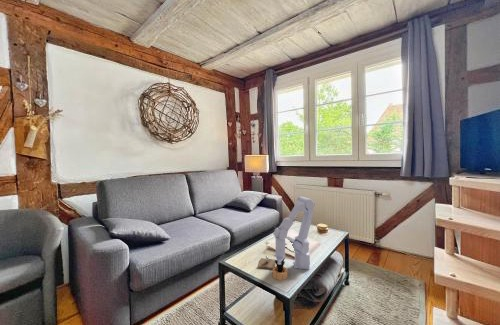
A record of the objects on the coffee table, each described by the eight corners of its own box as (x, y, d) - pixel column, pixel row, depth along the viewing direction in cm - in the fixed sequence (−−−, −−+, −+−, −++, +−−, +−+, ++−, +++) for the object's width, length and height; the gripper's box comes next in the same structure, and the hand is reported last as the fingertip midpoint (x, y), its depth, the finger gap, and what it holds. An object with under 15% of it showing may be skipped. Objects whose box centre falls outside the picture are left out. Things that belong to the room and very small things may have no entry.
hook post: (269, 262, 138) (268, 256, 137) (268, 263, 136) (268, 257, 135) (266, 261, 138) (265, 255, 138) (265, 263, 136) (265, 257, 136)
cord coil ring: (287, 272, 128) (287, 266, 128) (286, 280, 120) (286, 274, 120) (273, 270, 130) (273, 265, 130) (272, 278, 122) (272, 273, 122)
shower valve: (292, 234, 171) (306, 241, 158) (292, 241, 171) (306, 248, 158) (280, 238, 165) (293, 245, 152) (280, 244, 165) (293, 253, 152)
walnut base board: (275, 261, 141) (275, 259, 141) (274, 269, 131) (274, 267, 131) (261, 259, 143) (261, 258, 143) (258, 268, 133) (258, 266, 133)
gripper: (274, 242, 136) (275, 262, 136) (272, 253, 121) (272, 275, 122) (286, 243, 134) (286, 263, 135) (284, 254, 120) (284, 277, 121)
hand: (280, 269), depth 129 cm, fingers open, 4 cm apart
